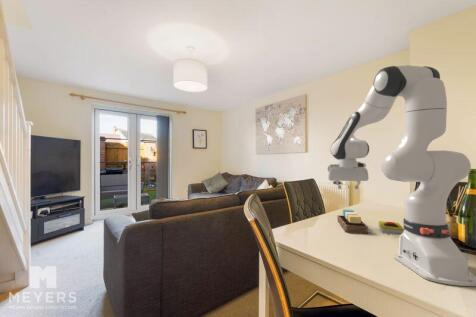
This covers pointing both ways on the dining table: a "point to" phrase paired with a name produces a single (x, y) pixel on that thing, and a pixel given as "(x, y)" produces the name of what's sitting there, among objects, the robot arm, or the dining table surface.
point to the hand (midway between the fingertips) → (347, 188)
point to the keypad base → (352, 226)
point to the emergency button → (390, 228)
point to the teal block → (346, 211)
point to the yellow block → (354, 219)
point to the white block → (349, 214)
